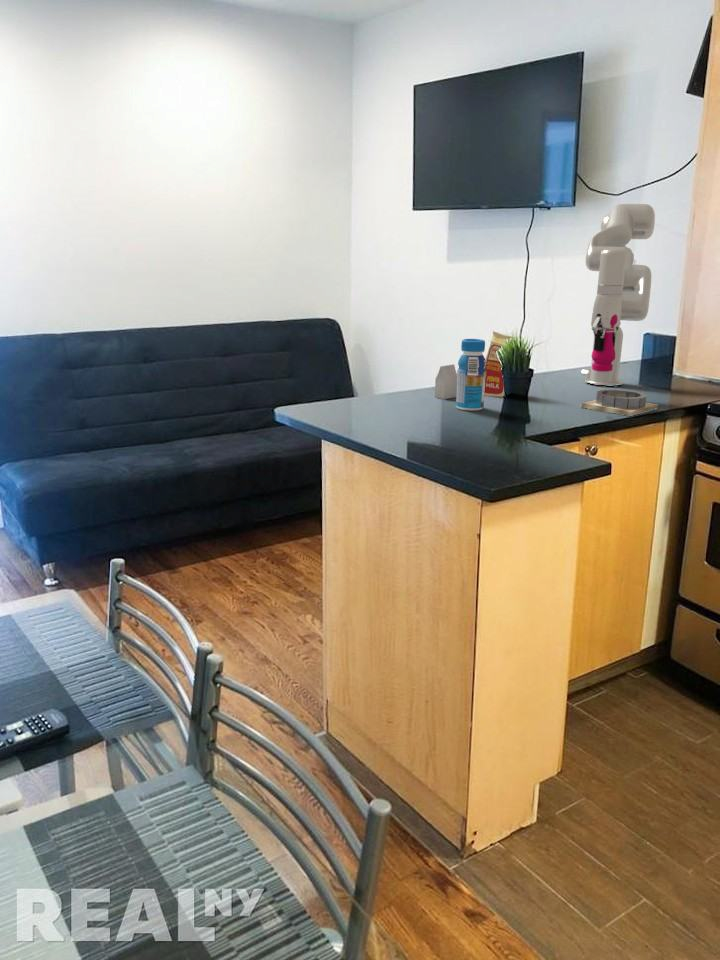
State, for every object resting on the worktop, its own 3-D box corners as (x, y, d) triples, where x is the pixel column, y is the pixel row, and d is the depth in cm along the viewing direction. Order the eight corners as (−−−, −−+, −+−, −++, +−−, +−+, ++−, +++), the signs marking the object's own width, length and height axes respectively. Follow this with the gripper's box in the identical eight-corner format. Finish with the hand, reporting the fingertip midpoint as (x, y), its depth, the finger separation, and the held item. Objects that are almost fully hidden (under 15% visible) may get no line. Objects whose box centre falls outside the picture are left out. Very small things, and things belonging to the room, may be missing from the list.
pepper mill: (601, 372, 253) (608, 307, 246) (585, 368, 259) (591, 304, 252) (618, 370, 256) (626, 306, 249) (602, 366, 262) (609, 303, 255)
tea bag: (457, 396, 257) (458, 365, 255) (444, 399, 253) (445, 367, 250) (447, 394, 260) (449, 363, 257) (434, 397, 255) (436, 365, 252)
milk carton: (479, 395, 260) (483, 332, 254) (486, 390, 268) (490, 329, 263) (507, 397, 257) (512, 333, 251) (513, 392, 265) (518, 330, 259)
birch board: (581, 407, 243) (582, 402, 243) (609, 401, 254) (610, 396, 253) (630, 416, 232) (631, 411, 232) (657, 409, 243) (658, 404, 242)
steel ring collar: (587, 403, 243) (587, 393, 242) (611, 397, 252) (612, 387, 251) (630, 410, 233) (631, 400, 232) (653, 404, 242) (654, 394, 242)
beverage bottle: (449, 408, 240) (452, 339, 234) (466, 404, 246) (470, 337, 240) (472, 412, 234) (477, 342, 228) (489, 408, 240) (494, 340, 234)
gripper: (613, 287, 257) (607, 344, 263) (583, 291, 246) (578, 351, 252) (635, 289, 252) (628, 347, 258) (606, 293, 241) (600, 354, 247)
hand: (604, 348), depth 255 cm, fingers closed on pepper mill, 5 cm apart
